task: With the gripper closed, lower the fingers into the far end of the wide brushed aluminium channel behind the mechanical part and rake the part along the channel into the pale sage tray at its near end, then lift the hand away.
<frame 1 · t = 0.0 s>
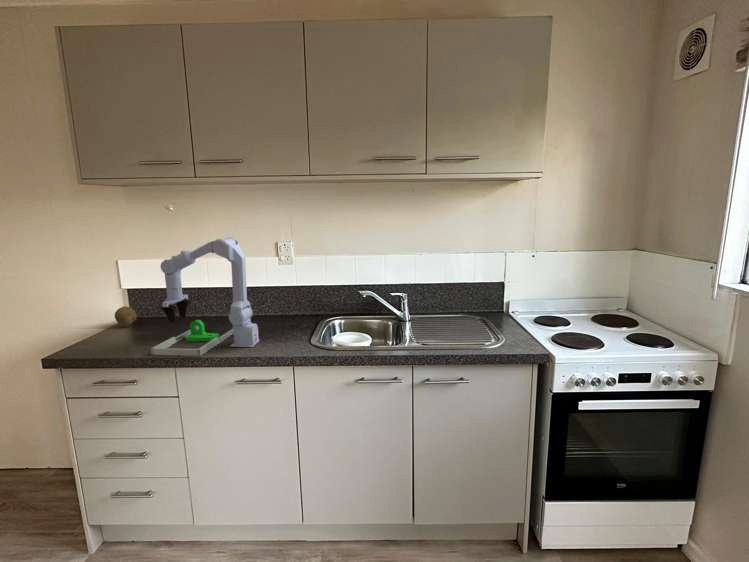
hand: (177, 319, 168), 10 cm above the worktop, tool pointing down, fingers open, 7 cm apart
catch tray: (195, 343, 169), on the worktop
slot rails: (195, 343, 169), on the worktop
mechanical part: (202, 340, 174), on the worktop
natural sponge: (127, 326, 195), on the worktop
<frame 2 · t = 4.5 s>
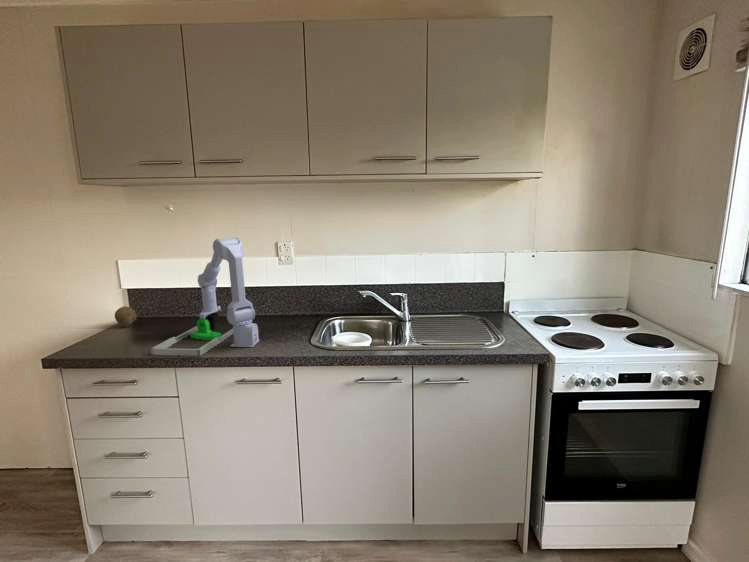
hand: (212, 329, 182), 2 cm above the worktop, tool pointing down, fingers closed
mechanical part: (206, 338, 176), on the worktop, touching gripper
everything else where it was.
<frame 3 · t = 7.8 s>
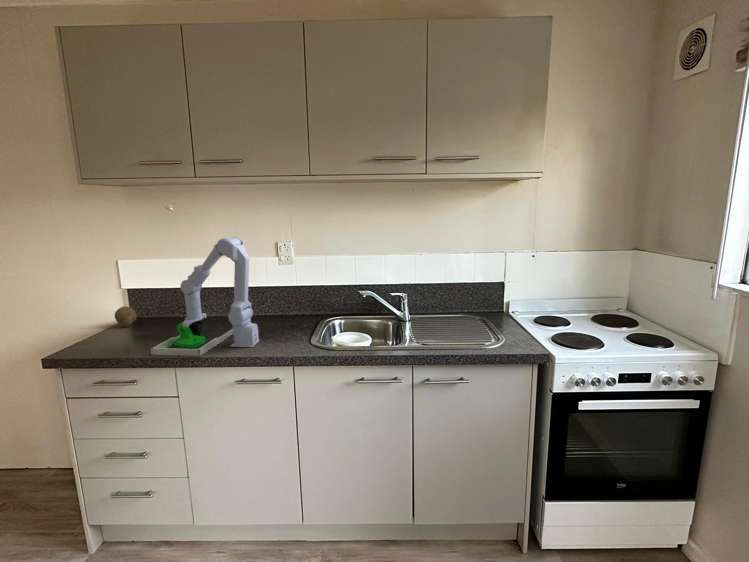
hand: (196, 338, 169), 2 cm above the worktop, tool pointing down, fingers closed
mechanical part: (190, 343, 166), point 1 cm above the worktop, touching gripper
everything else where it was.
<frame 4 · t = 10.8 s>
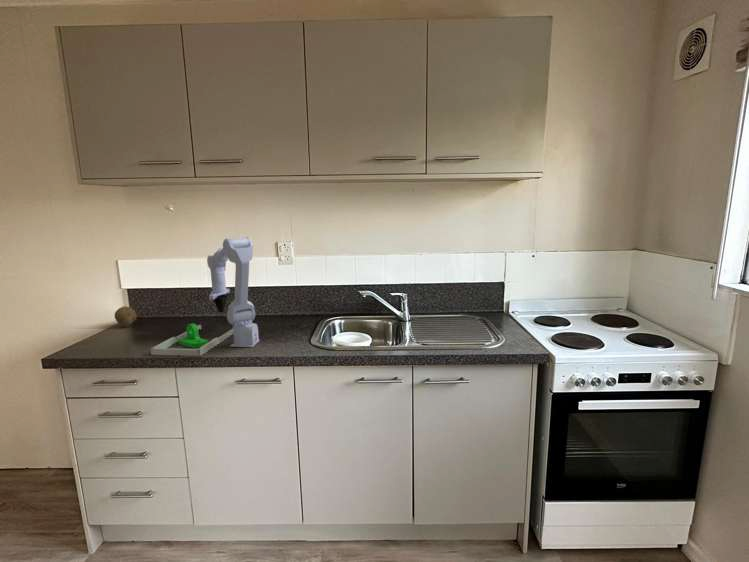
hand: (221, 311, 180), 10 cm above the worktop, tool pointing down, fingers closed
mechanical part: (193, 345, 168), on the worktop
everything else where it was.
at the end: mechanical part inside the target area (4.7 cm from its centre), on the worktop; mechanical part moved 6.3 cm from its start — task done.
